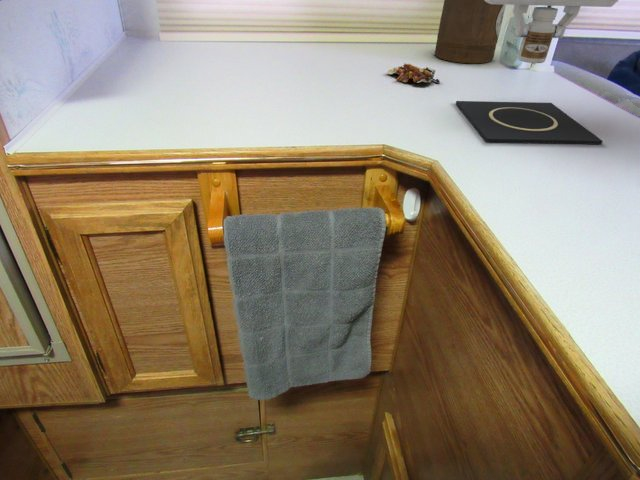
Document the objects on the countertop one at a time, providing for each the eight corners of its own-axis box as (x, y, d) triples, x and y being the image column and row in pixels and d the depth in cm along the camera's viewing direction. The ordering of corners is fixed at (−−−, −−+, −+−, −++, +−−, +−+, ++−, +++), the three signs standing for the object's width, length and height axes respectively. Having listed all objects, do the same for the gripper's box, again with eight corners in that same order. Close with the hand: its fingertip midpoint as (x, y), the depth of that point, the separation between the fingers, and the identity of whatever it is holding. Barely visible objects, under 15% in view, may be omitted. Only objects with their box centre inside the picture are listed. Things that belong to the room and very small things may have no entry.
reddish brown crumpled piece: (398, 70, 98) (400, 54, 96) (441, 82, 91) (444, 65, 89) (377, 75, 94) (379, 58, 92) (421, 88, 87) (424, 70, 85)
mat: (550, 105, 80) (551, 101, 80) (601, 144, 65) (603, 139, 65) (455, 104, 80) (456, 99, 79) (486, 142, 65) (487, 137, 65)
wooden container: (504, 62, 106) (532, -43, 93) (450, 65, 103) (471, -43, 90) (474, 49, 118) (494, -46, 105) (425, 51, 115) (440, -47, 102)
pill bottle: (519, 63, 69) (535, 9, 64) (514, 56, 72) (528, 5, 68) (547, 64, 68) (565, 10, 64) (541, 58, 72) (557, 6, 67)
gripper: (628, -68, 63) (591, 34, 71) (491, -71, 63) (470, 31, 71) (655, -67, 58) (612, 42, 66) (506, -71, 57) (481, 39, 66)
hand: (537, 37), depth 68 cm, fingers closed on pill bottle, 4 cm apart
